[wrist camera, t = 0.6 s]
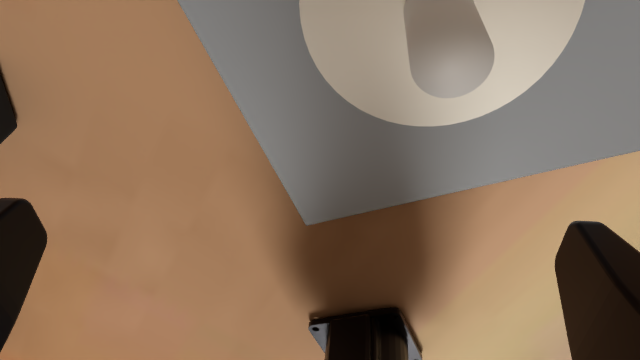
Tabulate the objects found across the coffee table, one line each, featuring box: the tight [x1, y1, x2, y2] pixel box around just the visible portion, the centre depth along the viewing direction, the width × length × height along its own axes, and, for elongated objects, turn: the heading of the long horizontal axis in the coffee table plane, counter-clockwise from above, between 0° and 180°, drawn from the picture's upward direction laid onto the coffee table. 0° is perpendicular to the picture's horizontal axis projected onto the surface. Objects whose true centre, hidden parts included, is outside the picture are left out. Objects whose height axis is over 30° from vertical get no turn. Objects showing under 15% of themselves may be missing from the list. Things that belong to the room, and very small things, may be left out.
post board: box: [178, 0, 640, 226], centre depth 16 cm, size 18×18×6 cm
